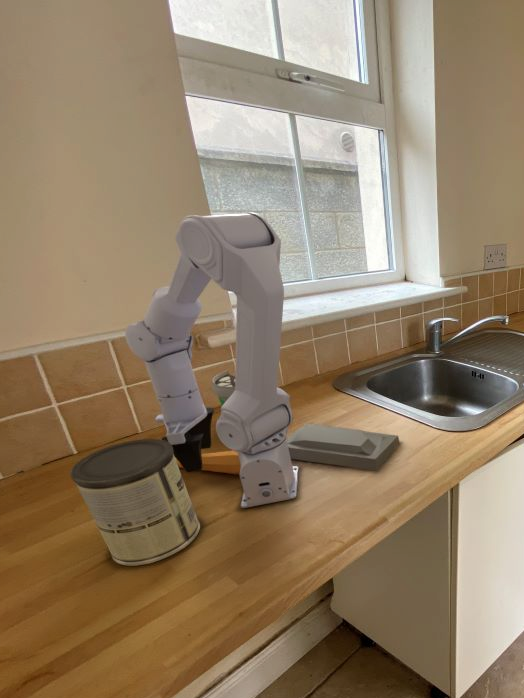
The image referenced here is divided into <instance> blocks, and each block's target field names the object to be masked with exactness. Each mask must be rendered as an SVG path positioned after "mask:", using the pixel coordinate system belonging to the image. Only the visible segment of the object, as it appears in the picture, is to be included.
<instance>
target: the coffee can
mask: <svg viewBox="0 0 524 698" xmlns="http://www.w3.org/2000/svg"><path fill="white" fill-rule="evenodd" d="M173 452H174V451H173V447H172V445H171V444H170V443H169V442H167V441H164V440H161V439H159V438H157V439H156V438H145V439H144V438H143V439H134V440H129V441H124V442H120V443H116V444H113V445H109V446H107V447H104V448H102V449H99V450H96V451H94V452H92V453H90V454H89V455H87V456H85V457H83V458H82V459H80V460H78V461H77V462H76V463H75V465H73V467H72V468H71V470H70V475H69V476H70V477H71V479H72V481H73V482H74V483H75V484H76V487H77V489H78V491H79V493H80V495H81V497H82V498H83V501H84V503H85V504H86V507H87V508H88V511H89V512H90V515H91V516H92V518H93V520H94V522H95V525H96V526H97V528H98V531H99V532H100V534H101V536H102V539H103V540H104V542H105V544H106V547H107V548H108V550H109V552H110V554H111V559H112V560H113V561H114V562H115V563H117V564H118V565H122V566H129V567H137V566H142V565H149V564H152V563H155V562H159V561H161V560H164V559H167V558H168V557H171V556H173V555H174V554H176V553H178V552H180V551H182V550H184V549H185V548H186V547H188V546H189V545H190V544H191V543H192V542H193V541H194V540H195V539H196V538H197V536H198V534H199V532H200V529H201V523H200V520H199V519H198V516H197V514H196V512H195V509H194V506H193V503H192V500H191V497H190V495H189V492H188V489H187V487H186V484H185V480H184V478H183V476H182V473H181V471H180V467H178V465H177V462H176V459H175V456H174V454H173Z"/></svg>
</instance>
